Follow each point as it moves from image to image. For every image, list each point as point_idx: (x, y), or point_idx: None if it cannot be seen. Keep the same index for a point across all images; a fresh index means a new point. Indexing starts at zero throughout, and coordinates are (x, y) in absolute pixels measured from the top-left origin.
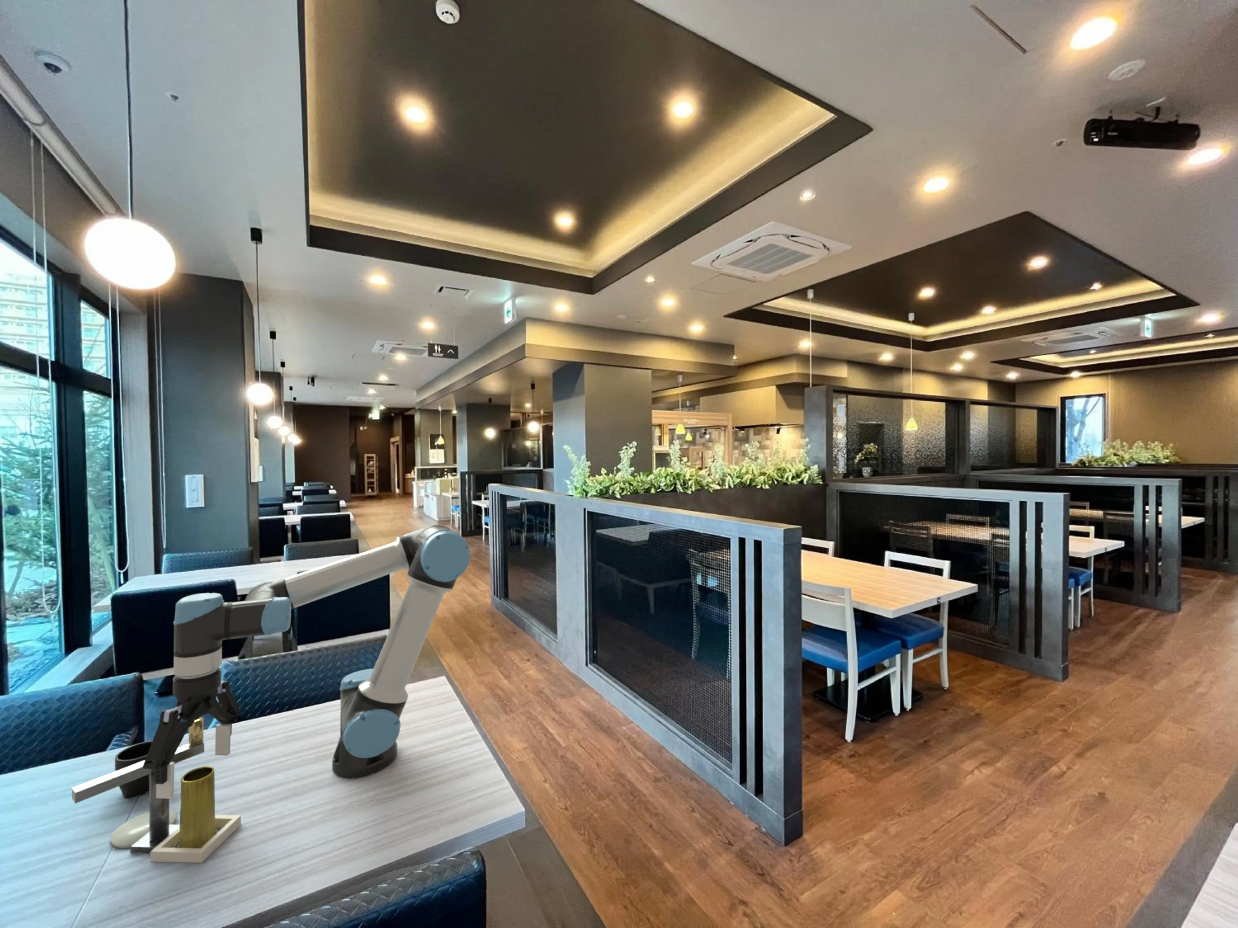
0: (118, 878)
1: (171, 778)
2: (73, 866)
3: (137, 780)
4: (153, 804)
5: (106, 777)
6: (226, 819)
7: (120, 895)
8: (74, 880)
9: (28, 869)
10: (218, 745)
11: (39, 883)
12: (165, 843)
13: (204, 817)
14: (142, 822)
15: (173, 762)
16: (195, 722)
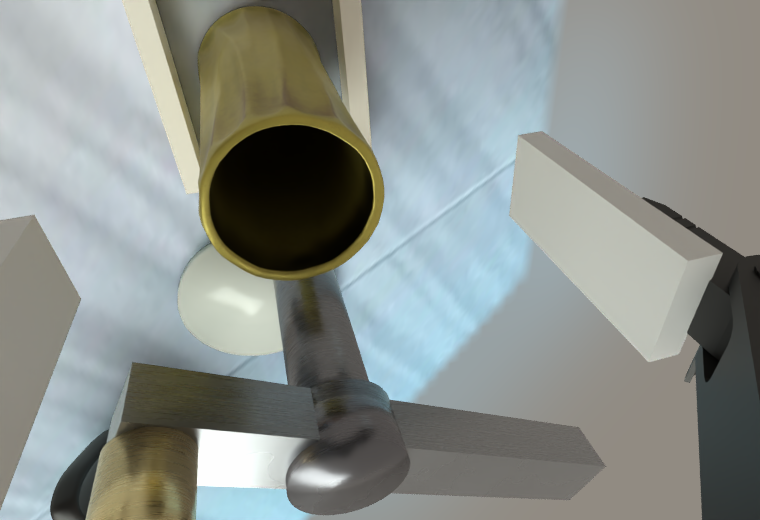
0: (427, 172)
1: (618, 187)
2: (397, 311)
3: None
4: (339, 288)
5: (515, 478)
6: (159, 30)
7: (482, 102)
8: (435, 266)
9: (410, 375)
10: (46, 333)
11: (444, 320)
12: None
13: (292, 44)
14: (250, 318)
15: (685, 265)
16: None
